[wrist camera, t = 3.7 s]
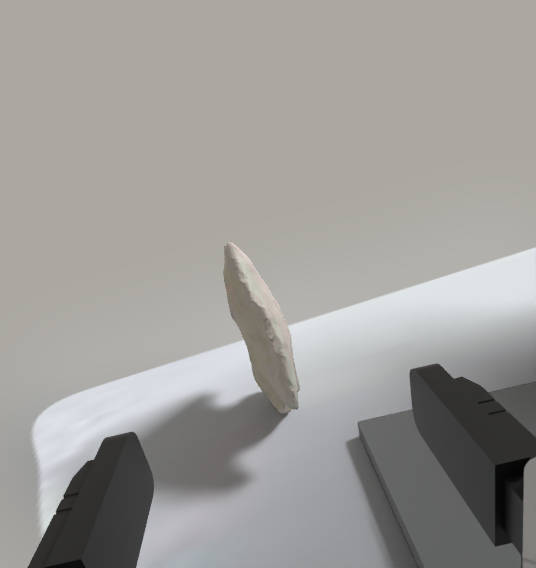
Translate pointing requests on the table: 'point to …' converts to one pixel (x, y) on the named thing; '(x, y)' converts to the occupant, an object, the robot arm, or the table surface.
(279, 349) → the arrowhead
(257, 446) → the table surface
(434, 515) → the mat
